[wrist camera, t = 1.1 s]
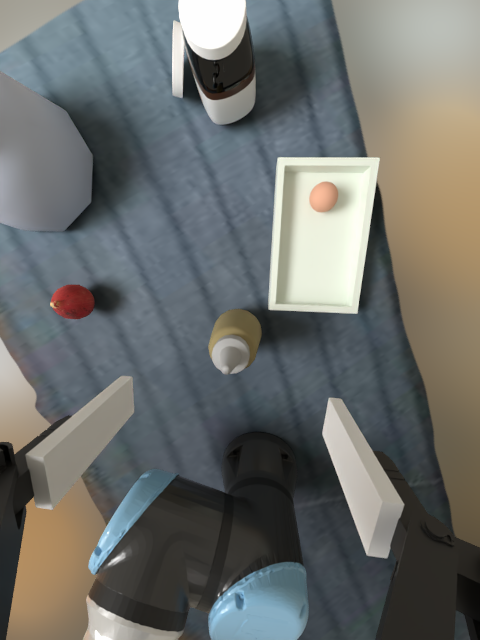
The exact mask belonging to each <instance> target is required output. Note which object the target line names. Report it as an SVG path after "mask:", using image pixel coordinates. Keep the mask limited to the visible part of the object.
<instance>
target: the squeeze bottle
mask: <svg viewBox="0 0 480 640" xmlns="http://www.w3.org/2000/svg"><path fill="white" fill-rule="evenodd" d="M261 335H262V331H261V325H260V323H259V321H258V320H257V318H256V317H255V316H254V315H253V314H251V313H250V312H248V311H246V310H242V309H233V310H228V311H227V312H225V313H223V314H222V315H221V316H220V317H219V318H218V320H217V321H216V322H215V326H214V329H213V332H212V335H211V338H210V343H209V347H208V348H209V353H210V357H211V358H212V360H213V363H214V364H215V366H216V367H217V368H218V369H219V370H221V371H222V373H224V374H233V373H238V372H240V371H242V370H243V369H245V368H247V367H249V366H250V365H251V363H252V362H253V361H254V360H255V357H256V353H257V350H258V346H259V343H260V339H261Z"/></svg>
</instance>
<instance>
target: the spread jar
mask: <svg viewBox="0 0 480 640" xmlns="http://www.w3.org/2000/svg"><path fill="white" fill-rule="evenodd" d="M179 17H180V21H181V23H179V22H176V21H174V22H173V55H172V86H173V96H176V97H179V98H183V74H184V45H185V49H186V53H187V56H188V60H189V63H190V66H191V69H192V72H193V75H194V78H195V81H196V85H197V88H198V91H199V94H200V97H201V100H202V102H203V105H204V107H205V109H206V111H207V113H208V115H209V117H210V118H211V120H212V121H213V122H214V123H215V124H219V125H225V124H230V123H233V122H236V121H238V120H240V119H241V118H243V117H244V116H245V115H247V114H248V113H249V112H250V111H251V110H252V108H253V106H254V104H255V97H256V74H255V58H254V50H253V42H252V36H251V31H250V26H249V22H248V18H247V15H246V0H179Z"/></svg>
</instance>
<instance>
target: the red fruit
mask: <svg viewBox="0 0 480 640" xmlns="http://www.w3.org/2000/svg"><path fill="white" fill-rule="evenodd" d="M94 304H95V302H94V297H93V295H92V293H91V292H90V291H89V290H88V289H86V288H85V287H82V286H80V285H66V286H63V287H61V288H59V289H58V290H57V291H56V292H55V293H54V294H53V297H52V300H51V304H50V305H51V306H52V307H53V309H54V311H55V312H56V313H58V314H59V315H60V316H62V317H64V318H68V319H80V318H83V317H86V316H88V315H89V314H90V313H91V312H92V311H93V309H94Z"/></svg>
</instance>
